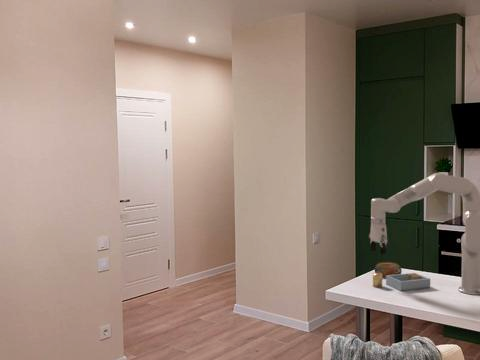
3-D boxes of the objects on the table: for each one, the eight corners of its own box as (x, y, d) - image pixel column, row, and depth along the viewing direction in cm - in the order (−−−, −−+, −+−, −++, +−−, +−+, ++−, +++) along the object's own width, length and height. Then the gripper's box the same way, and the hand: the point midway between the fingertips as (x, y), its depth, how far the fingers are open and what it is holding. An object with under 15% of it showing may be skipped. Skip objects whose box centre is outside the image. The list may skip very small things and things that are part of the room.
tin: (374, 276, 287) (374, 262, 287) (374, 275, 290) (374, 261, 290) (401, 278, 283) (401, 264, 282) (401, 277, 286) (401, 262, 285)
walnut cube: (421, 284, 265) (421, 275, 265) (413, 285, 264) (413, 276, 263) (415, 282, 270) (415, 273, 270) (407, 283, 269) (407, 274, 268)
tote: (430, 288, 261) (430, 278, 261) (400, 291, 257) (400, 281, 256) (414, 281, 275) (414, 272, 275) (386, 284, 270) (386, 275, 270)
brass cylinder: (384, 287, 265) (384, 274, 264) (375, 288, 264) (375, 275, 263) (379, 284, 270) (379, 272, 269) (371, 285, 268) (371, 273, 268)
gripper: (393, 223, 257) (392, 255, 258) (375, 218, 274) (375, 248, 275) (380, 223, 255) (380, 256, 256) (363, 219, 272) (363, 249, 273)
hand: (377, 252), depth 266 cm, fingers open, 9 cm apart
